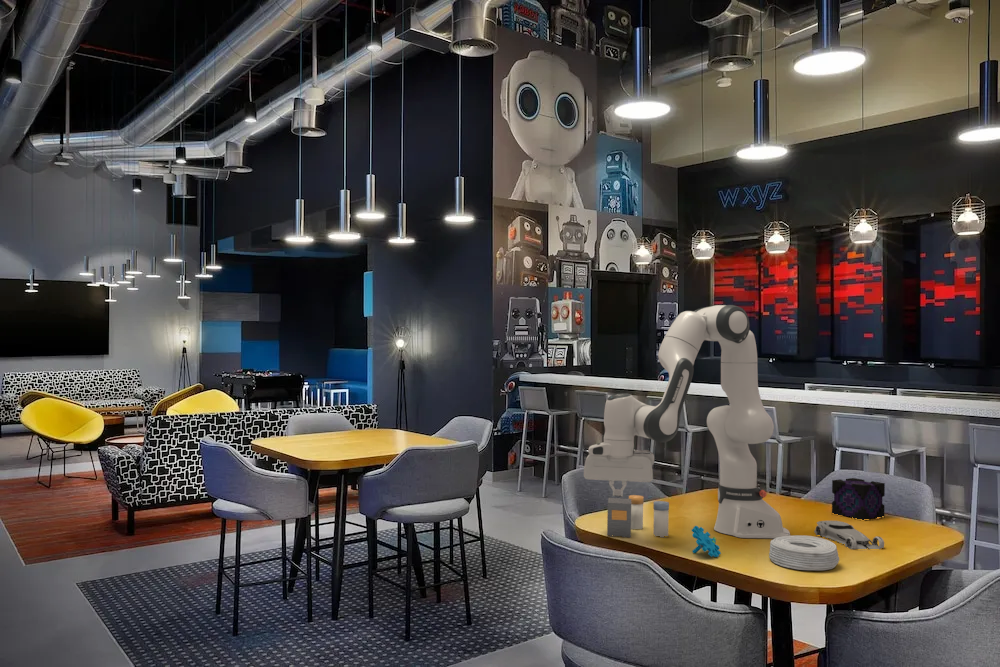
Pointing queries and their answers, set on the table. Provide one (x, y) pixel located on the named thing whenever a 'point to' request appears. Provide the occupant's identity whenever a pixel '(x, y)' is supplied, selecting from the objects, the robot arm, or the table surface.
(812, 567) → the cable
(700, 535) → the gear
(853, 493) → the energy cube
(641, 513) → the orange cap canister
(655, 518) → the blue cap canister
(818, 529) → the car model
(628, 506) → the box
